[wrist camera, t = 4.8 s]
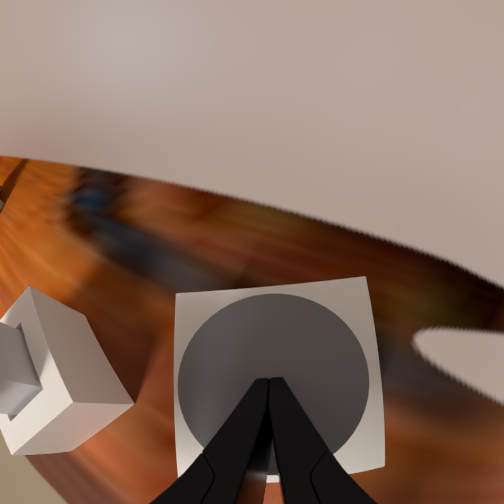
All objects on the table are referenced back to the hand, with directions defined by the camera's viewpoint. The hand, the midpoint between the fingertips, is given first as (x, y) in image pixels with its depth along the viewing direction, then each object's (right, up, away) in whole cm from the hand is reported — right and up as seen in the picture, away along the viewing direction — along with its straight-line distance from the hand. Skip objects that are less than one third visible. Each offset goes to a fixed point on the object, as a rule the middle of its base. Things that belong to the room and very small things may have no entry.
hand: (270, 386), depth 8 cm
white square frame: (-15, -7, +10) cm, 20 cm away
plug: (+1, -4, +7) cm, 8 cm away
